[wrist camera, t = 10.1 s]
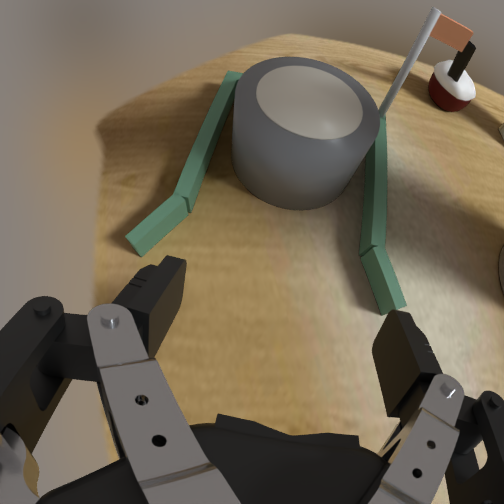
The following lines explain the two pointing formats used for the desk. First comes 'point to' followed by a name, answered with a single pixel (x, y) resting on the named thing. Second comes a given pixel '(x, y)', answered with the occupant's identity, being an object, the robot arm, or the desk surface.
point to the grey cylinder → (300, 131)
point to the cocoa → (453, 82)
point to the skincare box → (502, 130)
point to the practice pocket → (375, 172)
